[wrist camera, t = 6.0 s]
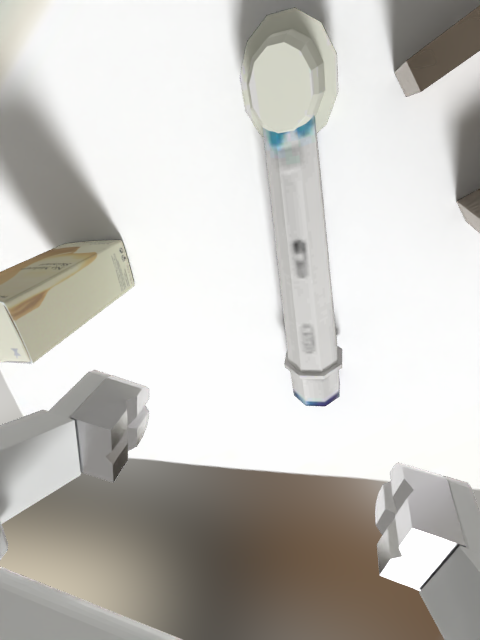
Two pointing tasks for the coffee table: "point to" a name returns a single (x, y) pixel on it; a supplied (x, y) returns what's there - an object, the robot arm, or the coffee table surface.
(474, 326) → the coffee table surface
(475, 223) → the bracket
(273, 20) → the white handheld device
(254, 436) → the coffee table surface
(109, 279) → the skincare box
